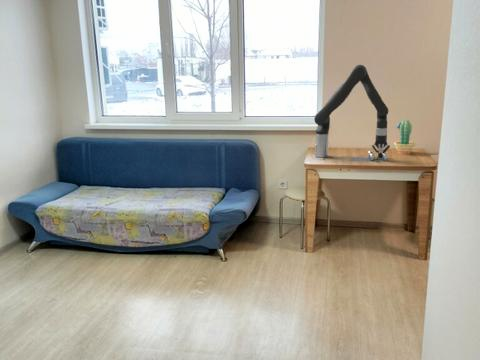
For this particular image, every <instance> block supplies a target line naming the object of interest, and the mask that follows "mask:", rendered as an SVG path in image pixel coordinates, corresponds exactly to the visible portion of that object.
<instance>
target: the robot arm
mask: <svg viewBox="0 0 480 360" xmlns="http://www.w3.org/2000/svg"><path fill="white" fill-rule="evenodd" d="M358 83H361V85H362V86H363V88H364V90H365V92H366V96H367V98H368V99H369V100H370V103H371V104H372V105H373V106H374V108H375V110H376V119H377V120H376V128H375V141H374V144H372V145H371V147H372V149H373V150H374V151H375V153H377V156H378V158H382V154H383V153H385V152H386V153H387V151H388V150H389V149H390V148H391V145H390V144H388V140H387V139H388V119H387V118H388V114H389V108H388V106H387V105H386V104H385V102H384V101H383V98H382V97H381V95H380V93H379V91H378V90H377V89H376V87H375V85H374V83H373V82H372V80H371V77H370V76H369V73H368V71H367V67H366V66H364V65H363V64H357V65H356V66H354V68H352V71H351V72H350V74H349V75H348V76H347V78H346V80H345V81H344V82H343V83H342V84H340V86H338V88H337V89H336V90H335V91H334V92H333V94H332V95H331V96H330V98H329V99H328V100H327V102H326V103H325V104H324V106H323V107H322V108H321V109H320V110H319V111H318V112H317V113H316V114H315V116H314V119H313V120H314V123H315V124H316V125H317V127H316V129H315V143H314V145H315V152H314V155H315V156H314V157H315V158H326V157H327V158H328V156H329V155H328V153H329V130H330V127H331V126H330V125H331V117H330V116H331V114H332V113H333V112H334V111H335V110H337V109H338V108H339V107H340V106H342V104H343V103H345V101H346V100H347V98H349V95H350V94H351V92H352V91H353V89H354V88H355V87H356V86H357V84H358Z"/></svg>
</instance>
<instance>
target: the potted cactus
mask: <svg viewBox="0 0 480 360" xmlns="http://www.w3.org/2000/svg"><path fill="white" fill-rule="evenodd" d="M396 128H397V130H399V131H398V132H399V134H400V136H399V137H400V139H399V140H398V141H394V142H393V144H394V146H395V149H396V150H397V154H401V155H402V154H403V155H407V154H408V155H410V154H411V151H412V150H413V148H414V147H415V146H416V142H414V141H410V136H411V133H412V131H413V130H412V129H413V125H412V123H411V122H410V120H406V119H404V120H402V121H399V122H398V123H397V124H396Z"/></svg>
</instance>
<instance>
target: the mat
mask: <svg viewBox="0 0 480 360" xmlns="http://www.w3.org/2000/svg"><path fill="white" fill-rule="evenodd" d="M349 160H350V162H371V161H370V158H368V157H356V156H355V157H354V156H353V157H349ZM373 162H384V161H383V159H382V158H378V160H374V161H373ZM385 162H388V160H387V161H385Z"/></svg>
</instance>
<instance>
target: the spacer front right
mask: <svg viewBox="0 0 480 360" xmlns="http://www.w3.org/2000/svg"><path fill="white" fill-rule="evenodd" d="M388 157H389V153H387V152H386V153H384V154H383V161H382V162H386V161H387V162H388V159H389V158H388Z"/></svg>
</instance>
